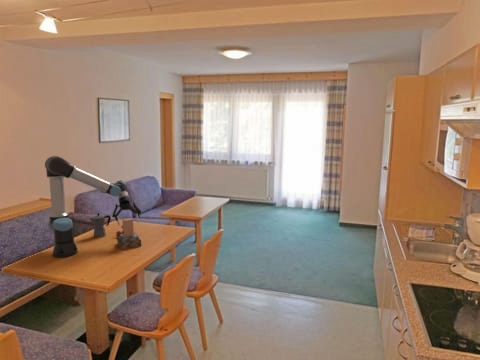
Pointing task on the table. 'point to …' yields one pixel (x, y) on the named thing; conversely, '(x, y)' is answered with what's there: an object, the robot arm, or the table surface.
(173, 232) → the table surface
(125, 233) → the column brick
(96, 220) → the coffeepot
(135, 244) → the tower base
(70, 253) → the robot arm
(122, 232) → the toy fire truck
